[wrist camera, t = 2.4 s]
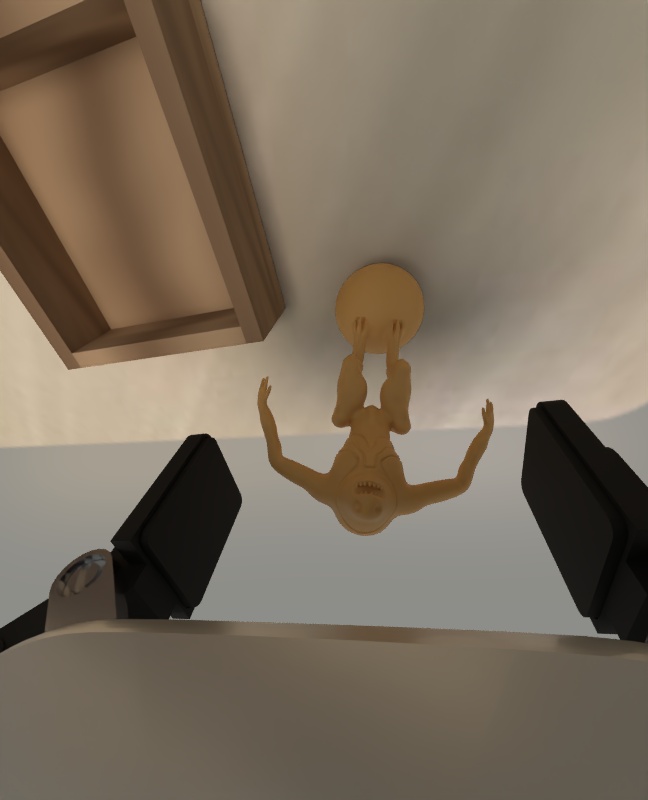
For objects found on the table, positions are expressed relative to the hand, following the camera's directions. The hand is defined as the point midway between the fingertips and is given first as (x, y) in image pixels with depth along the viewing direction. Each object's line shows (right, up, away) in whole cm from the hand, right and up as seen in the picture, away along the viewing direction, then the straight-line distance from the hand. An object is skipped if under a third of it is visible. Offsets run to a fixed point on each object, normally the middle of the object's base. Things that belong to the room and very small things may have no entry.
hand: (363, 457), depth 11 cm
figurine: (+2, +6, +8) cm, 10 cm away
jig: (-10, +11, +6) cm, 16 cm away
